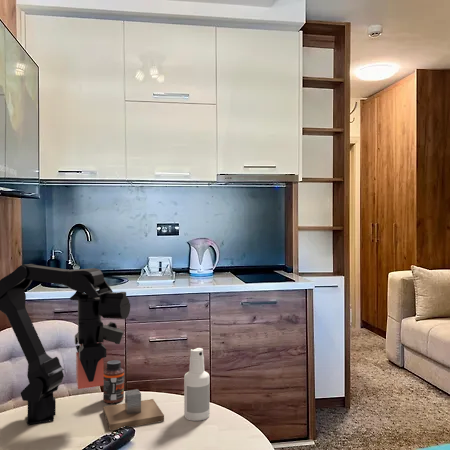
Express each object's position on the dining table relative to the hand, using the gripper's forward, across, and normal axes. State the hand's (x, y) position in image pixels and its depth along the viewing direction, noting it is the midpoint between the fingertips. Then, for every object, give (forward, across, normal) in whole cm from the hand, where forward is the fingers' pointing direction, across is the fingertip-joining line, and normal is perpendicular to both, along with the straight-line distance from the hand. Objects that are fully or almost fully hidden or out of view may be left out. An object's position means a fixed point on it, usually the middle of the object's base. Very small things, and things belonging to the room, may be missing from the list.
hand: (89, 377), depth 115 cm
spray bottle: (+12, -6, -27) cm, 31 cm away
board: (+12, 0, -11) cm, 16 cm away
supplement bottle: (+12, +14, -8) cm, 20 cm away
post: (+11, 0, -11) cm, 15 cm away
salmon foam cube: (+2, 0, 0) cm, 2 cm away
